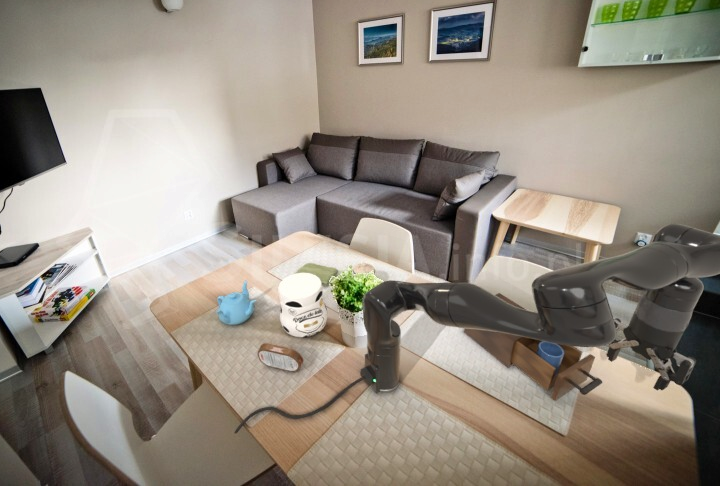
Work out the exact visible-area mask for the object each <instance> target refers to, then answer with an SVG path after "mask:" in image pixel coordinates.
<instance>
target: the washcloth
mask: <svg viewBox="0 0 720 486" xmlns="http://www.w3.org/2000/svg"><path fill="white" fill-rule="evenodd" d="M296 273H310V274H313V275H316V276H317V277H318V278H319V279H320V281H321V283H322V287H327V286H328V285H329V284H328V282H329V280H330V278H331V276H335V277H336V276H337V275H338V274H339V270H338V269H337V268H336V267H332V266H327V265H322V264H317V263H312V262H307V263H305V264H304V265H303V266H301V267H300V268H299V269H298V270H297V271H296V272H293V274H296ZM329 283H330V282H329Z"/></svg>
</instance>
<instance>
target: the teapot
mask: <svg viewBox="0 0 720 486" xmlns="http://www.w3.org/2000/svg"><path fill="white" fill-rule="evenodd" d="M247 284H248V280H244V282H243V284H242V289H241V290H242V291H241V292H238V291H235V292H231V293H230V292H229V294H227V295H225V296H224V295H219V296H217V299H216V300H217V303H218V310H215V311H214V313H216V314H218V318H219V321H220V322H221V323H223V324H225V325H228V326H237V325H241V324H243V323H245V322H246V321H248V319H249V318H250V317H251V316H252V315H253V313H254V312H255V302H257V299H252V300H250V295H249V291H248V286H247Z"/></svg>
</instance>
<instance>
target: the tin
mask: <svg viewBox="0 0 720 486" xmlns="http://www.w3.org/2000/svg"><path fill="white" fill-rule="evenodd" d="M257 358H258V360H259V361H260V362H261V363H262V364H263V365H265V366H267V367H270V368H274V369H278V370H282V371H286V372H291V373H296V372H298V371H300V369H301V367H302V365H303V364H304V357H303V356H302V355H301V352H299V351H297V350H296V349H294V348H292V347H287V346H283V345H278V344H275V343H269V342H264V343H262V344H261V345H260V347H259V348H258V350H257Z"/></svg>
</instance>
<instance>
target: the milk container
mask: <svg viewBox="0 0 720 486" xmlns="http://www.w3.org/2000/svg"><path fill="white" fill-rule="evenodd" d="M295 273H296V272H295ZM277 289H278V297H279V298H278V299H279V303H280V311H279V320H280V324H281V326H282V329H283V330H284V331H285V333H287V335H289V336H292V337H295V338H300V339H301V338H310V337H312V336H313V337H314V336H315V335H317V334H319V333H321V331H323V330H324V328H325V326H326V325H327V321H328V307H327V305H326V303H325V299H324V290H323V289H324V286H322V283H321V281H320V279H319V278H318V277H317V276H316V275H313V274H310V273H296V274H294V273H293V274H290V275H289V274H288V275H287V276H286V277H284V278H283V279H282V280H281V281H280V282H279V285H278V288H277Z"/></svg>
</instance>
